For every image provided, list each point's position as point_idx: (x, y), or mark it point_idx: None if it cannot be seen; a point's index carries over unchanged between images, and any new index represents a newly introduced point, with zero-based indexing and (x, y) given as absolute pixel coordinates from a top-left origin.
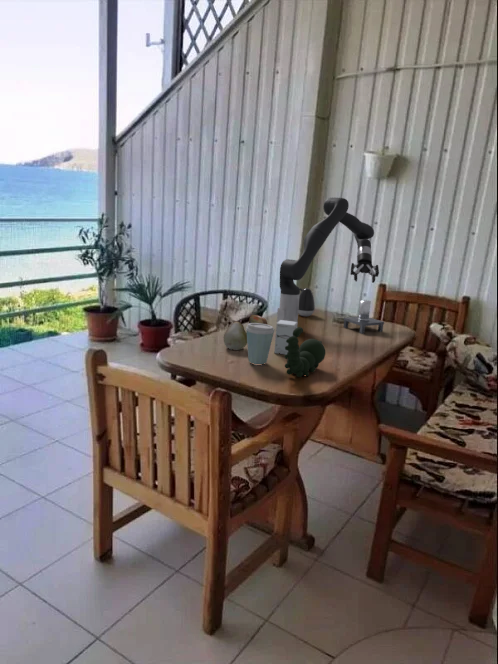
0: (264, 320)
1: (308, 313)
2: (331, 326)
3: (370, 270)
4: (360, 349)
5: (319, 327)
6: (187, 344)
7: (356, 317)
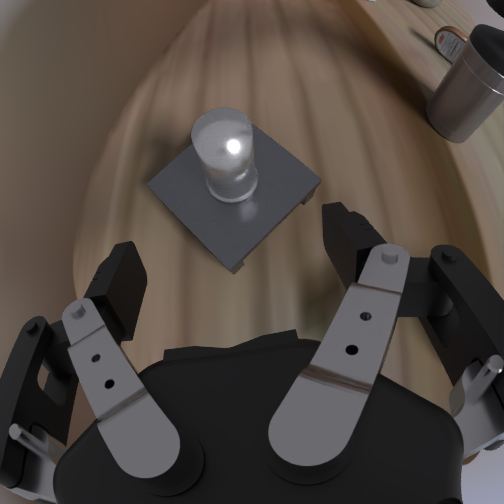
0: (449, 27)
1: None
2: (356, 193)
3: (113, 340)
4: (236, 22)
5: (386, 160)
6: (469, 19)
7: (267, 213)
